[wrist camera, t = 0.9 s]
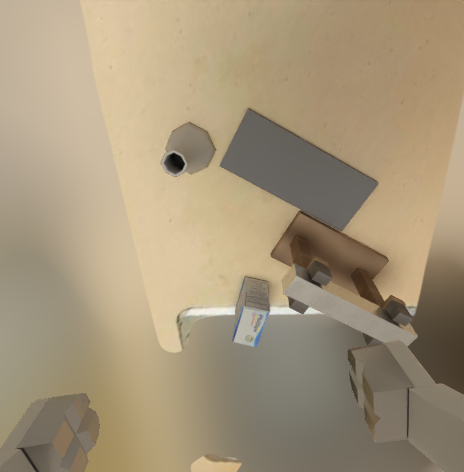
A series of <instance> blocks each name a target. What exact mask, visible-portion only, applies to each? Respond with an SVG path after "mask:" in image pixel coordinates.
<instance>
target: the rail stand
mask: <svg viewBox="0 0 464 472" xmlns="http://www.w3.org/2000/svg"><path fill="white" fill-rule="evenodd" d="M271 257H272V258H274V259H276V260H278V261H280V262H282V263H284V264H286V265H288V266H290V267H292V265H293V264H294V263H295V264H297V265H299V266H301V267H303V268H305V269H307V270H309V271H310V275H311V279H312V280H314V281H316V282H318V283H320V284H322V285H324V286H326V285H327V284H328V283H329V282H330V281H331V282H332V283H334V284H336V285H338V286H340V287H342V288H344V289H346V290H348V291H350V292H352V293H354V294H356V295H360V297H362V298H364V299H366V300H368V301H370V302H372V303H374V304H376V305H378V306H380V307H382V308H384V309H386V310H387V311H388V313H389V314H390V316H391V318H392V320H394V321H395V322H397V323H399V324H401V325H403V326H405V327H406V326H407V325H408V324H409V323H410V322H411V321H412V320H413V318H412V316H411V315H410V313H409V312H408V310H407V309H406V307H405V303H404V302H403V301H402V300H400V299H398V298H396V297H394V296H392V295H390V296H389V298H388V299H387V300H386V301H385V302H384V300H383V298H382V296H381V295H380V293H379V291H378V289H377V288H376V286H375V284H374V282H373V281H372V279H373V278H374V277H375V276H376V275H377V274H378V273H379V271H380V270H381V269H382V268H383V267H384V266H385V265H386V264H387V263H388V261H389V260H388V259H387V257H385V256H383V255H382V254H380V253H378V252H376V251H374V250H372V249H370V248H368V247H367V246H365V245H363V244H361V243H359V242H357V241H355V240H353V239H352V238H350V237H348V236H346V235H344V234H342V233H340V232H338V231H337V230H335V229H333V228H331V227H329V226H327V225H325V224H323V223H322V222H320V221H318V220H316V219H314V218H312V217H310V216H308V215H307V214H305V213H303V212H301V211H299V212H298V214H297V215H296V217H295V218H294V220H293V221H292V223H291V224H290V226H289V227H288V229H287V230H286V232H285V233H284V234H283V236H282V237H281V239H280V240H279V242H278V243H277V245H276V246H275V248H274V249H273V251H272V252H271ZM287 297H288V300H289V307H290V308H291V309H293V310H295V311H297V312H299V313H301V314H304V312H305V311H306V310H307V309H308V307H309V306H308V305H305V304H303V303H301V302H299V301H297V300H295V299H293V298H291V297H289V296H287ZM360 332H361V331H360ZM361 333H362V334H363V336H364V338H365V341H366V343H367V345H368V346H369V345H375V344H382V343H383V342H381V341H379V340H377V339H375V338H373V337H371V336H369V335H367V334H365V333H363V332H361Z"/></svg>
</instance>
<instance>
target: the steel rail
mask: <svg viewBox="0 0 464 472" xmlns="http://www.w3.org/2000/svg"><path fill="white" fill-rule="evenodd" d="M282 286H283V294H285V295H287V296H289V297H291V298H293V299H295V300H297V301H299V302H301V303H303V304H305V305H308V306H310V307H312V308H314V309H316V310H318V311H320V312H322V313H324V314H326V315H328V316H330V317H332V318H334V319H336V320H338V321H340V322H343V323H344V324H347V325H349V326H351V327H353V328H355V329H357V330H359V331H361V332H363V333H365V334H367V335H369V336H371V337H373V338H375V339H377V340H379V341H381V342H383V343H386V342H392V341H397V340H401V341H402V342H404V344H405V345H406V346H408V345H409V344H410V343H411V342H413V341H414V340H415V339H416V338H417V337H418V336H417V334H416V333H415V331H414V330H413V328H412V326H411V325H410V323H409V324H408V325H407V326H406V327H405V326H403V325H401V324H399V323H397V322H395V321H394V320H392V318H391V316H390V314H389V313H388V311H387V310H386V309H384V308H382V307H380V306H378V305H376V304H374V303H372V302H370V301H368V300H366V299H364V298H362V297H360V296H358V295H356V294H354V293H352V292H350V291H348V290H346V289H344V288H342V287H340V286H338V285H336V284H334V283H332V282H331V281H330V282H329V283H328V284H327V285H326V286H324V285H322V284H320V283H318V282H316V281H314V280H312V279H311V275H310V271H309V270H307V269H305V268H303V267H301V266H299V265H297V264H295V263H294V264H293V265H292V267H291V268H290V269H289V271H288V272H287V274H286V275H285V276H284V278H283V279H282Z"/></svg>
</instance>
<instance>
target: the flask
mask: <svg viewBox="0 0 464 472" xmlns="http://www.w3.org/2000/svg"><path fill="white" fill-rule="evenodd" d="M165 149H166V151H167V153H165V154H164V156H163V159H162V161H161V165H162V166H163V168H164V170H165V172H166V173H168V174H170V175H172V176H174V177H177V176H179V175H181V174H183V173H184V172H185V171H186V172H188V173H190V174H194V173H196V172H198V171H200V170H202V169H204V168H206V167H208V165H209V163H210V161H211V159H212V157H213V155H214V153H215V151H216V149H215V147H214V145H213V143H212V141H211V139H210V137H209V135H208V133H207V132H206V131H205V130H203V129H201V128H199V127H197V126H195V125H193V124H192V123H190V122H189V123H187V124H185V125H183V126H181V127H179V128H177V129H175V130H173V131H172V133H171V136H170V138H169V141H168V143H167V146H166V148H165Z"/></svg>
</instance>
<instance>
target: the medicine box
mask: <svg viewBox="0 0 464 472" xmlns="http://www.w3.org/2000/svg"><path fill="white" fill-rule="evenodd" d="M269 312H270V304H269V288H268V282H267V281H262V280H258V279H253V278H249V277H245V278H244V282H243V285H242V289H241V292H240V296H239V299H238V303H237V306H236V311H235V321H234V331H233V342H237V343H240V344H244V345H248V346H254V347H257V345H258V342H259V339H260V337H261V334H262V331H263V328H264V326H265V323H266V320H267V317H268V315H269Z"/></svg>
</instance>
